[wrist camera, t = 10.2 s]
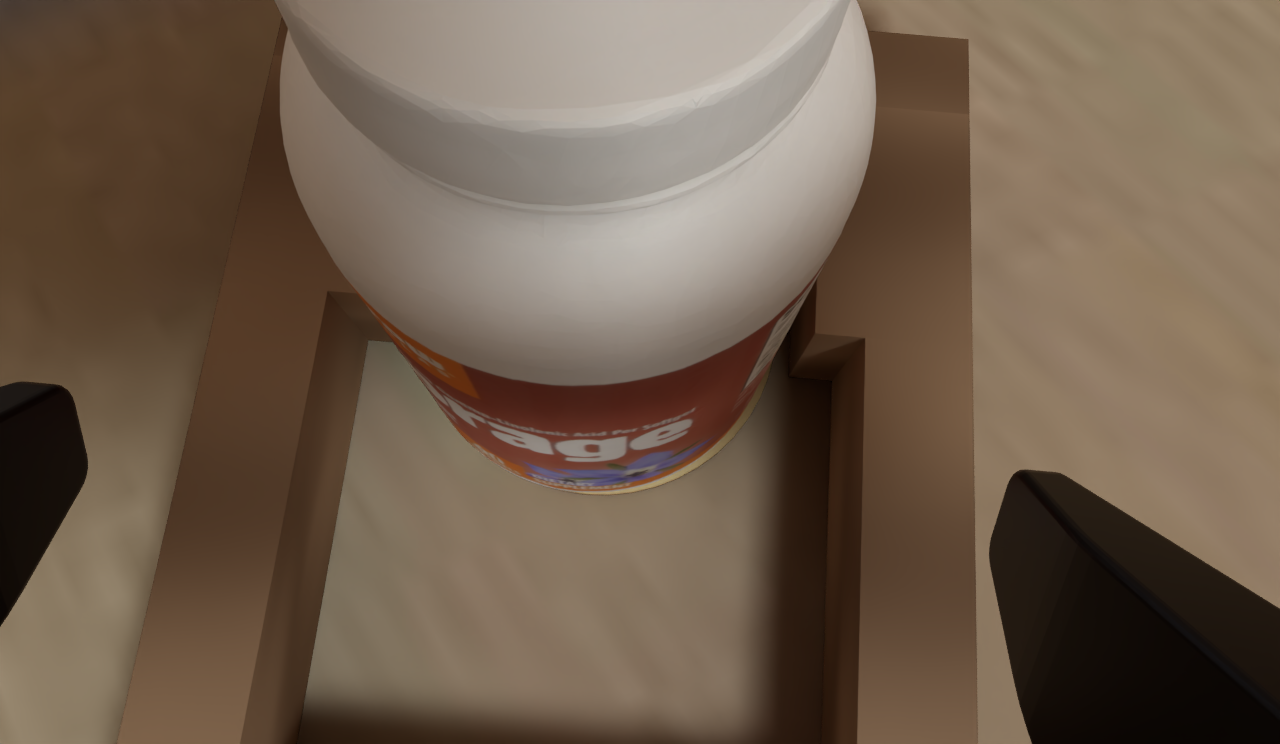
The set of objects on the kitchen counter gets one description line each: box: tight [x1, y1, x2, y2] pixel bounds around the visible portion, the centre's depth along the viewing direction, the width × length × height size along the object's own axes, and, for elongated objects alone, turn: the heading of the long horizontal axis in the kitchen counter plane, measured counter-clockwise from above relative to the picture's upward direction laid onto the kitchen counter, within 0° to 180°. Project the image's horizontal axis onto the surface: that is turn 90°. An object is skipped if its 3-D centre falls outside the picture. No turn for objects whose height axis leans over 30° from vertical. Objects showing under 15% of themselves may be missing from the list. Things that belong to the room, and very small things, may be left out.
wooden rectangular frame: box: [117, 17, 978, 744], centre depth 15 cm, size 20×12×2 cm, turn 175°
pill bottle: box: [274, 0, 876, 492], centre depth 12 cm, size 6×6×11 cm
